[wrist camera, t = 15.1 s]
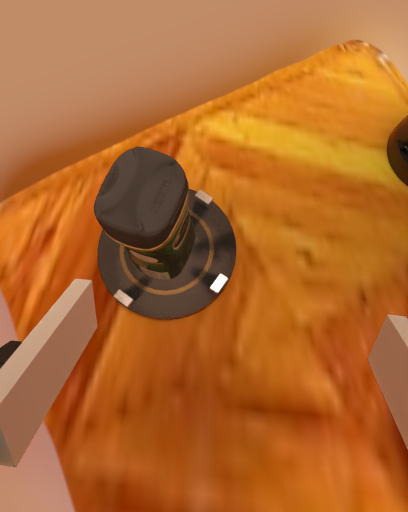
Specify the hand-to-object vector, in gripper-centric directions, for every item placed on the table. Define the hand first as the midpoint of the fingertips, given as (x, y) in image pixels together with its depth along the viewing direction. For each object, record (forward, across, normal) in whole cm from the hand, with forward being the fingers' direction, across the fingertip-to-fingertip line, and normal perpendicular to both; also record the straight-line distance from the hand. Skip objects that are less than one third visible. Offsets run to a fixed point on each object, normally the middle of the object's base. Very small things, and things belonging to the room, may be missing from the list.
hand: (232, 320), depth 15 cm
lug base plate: (+30, -9, -14) cm, 34 cm away
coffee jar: (+29, -9, -12) cm, 33 cm away
